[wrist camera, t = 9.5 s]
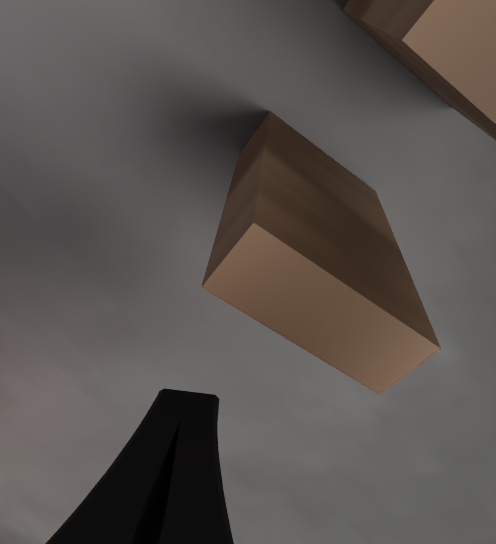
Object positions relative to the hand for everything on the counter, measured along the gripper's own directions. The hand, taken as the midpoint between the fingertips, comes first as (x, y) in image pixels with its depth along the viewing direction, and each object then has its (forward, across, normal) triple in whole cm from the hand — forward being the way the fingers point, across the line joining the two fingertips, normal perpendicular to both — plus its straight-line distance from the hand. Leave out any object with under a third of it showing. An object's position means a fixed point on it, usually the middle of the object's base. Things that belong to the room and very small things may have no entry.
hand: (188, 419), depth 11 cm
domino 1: (+6, -2, -4) cm, 8 cm away
